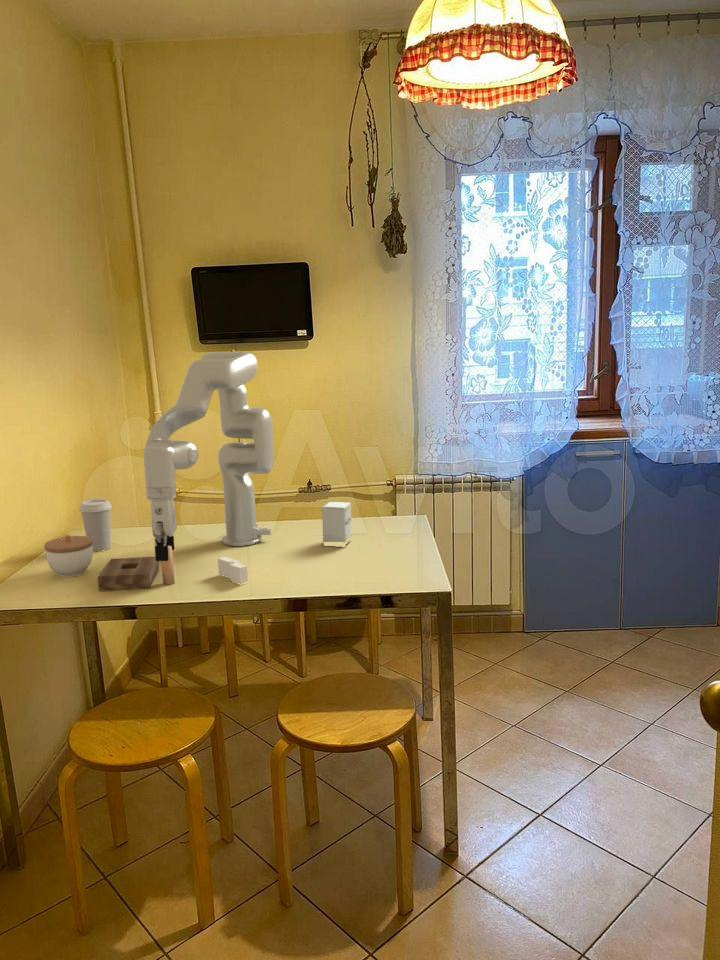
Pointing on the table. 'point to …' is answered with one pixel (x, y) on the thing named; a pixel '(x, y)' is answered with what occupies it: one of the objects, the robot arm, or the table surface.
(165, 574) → the peg
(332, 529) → the supplement box
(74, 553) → the lidded bowl
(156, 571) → the hole block
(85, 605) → the table surface
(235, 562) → the napkin holder
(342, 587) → the table surface
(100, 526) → the coffee cup
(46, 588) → the table surface
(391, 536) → the table surface
